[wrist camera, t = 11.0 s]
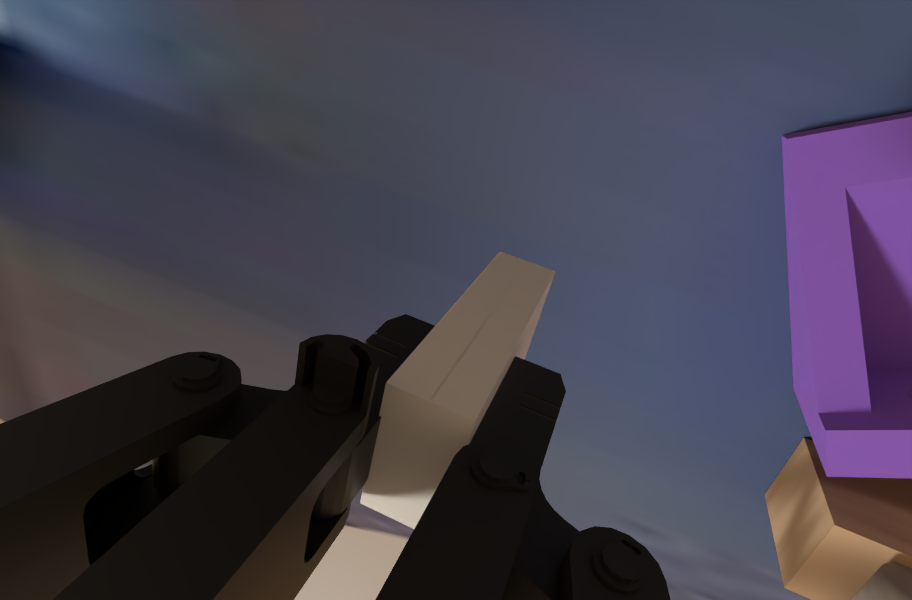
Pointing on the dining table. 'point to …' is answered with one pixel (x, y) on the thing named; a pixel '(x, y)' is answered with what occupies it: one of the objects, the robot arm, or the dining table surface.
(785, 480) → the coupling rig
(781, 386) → the dining table surface
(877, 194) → the bracket
